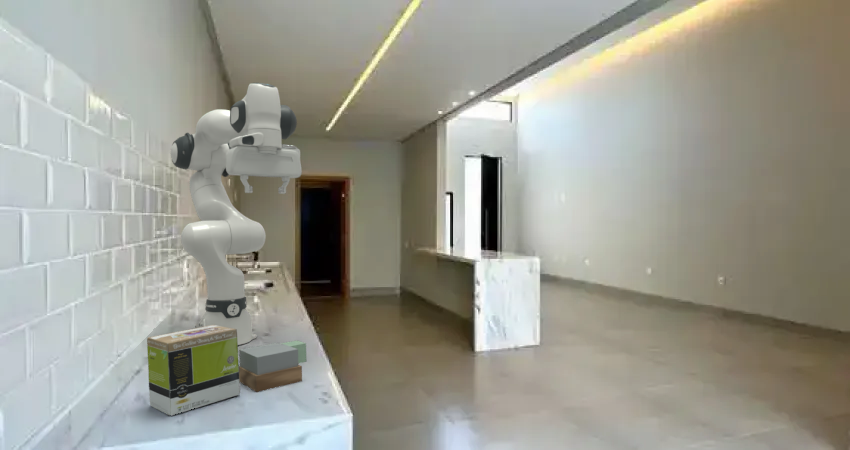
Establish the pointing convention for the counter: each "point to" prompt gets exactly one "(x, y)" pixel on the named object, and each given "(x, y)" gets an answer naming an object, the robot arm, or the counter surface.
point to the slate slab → (268, 358)
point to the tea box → (192, 368)
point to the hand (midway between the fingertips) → (265, 193)
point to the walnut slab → (270, 378)
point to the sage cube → (301, 349)
